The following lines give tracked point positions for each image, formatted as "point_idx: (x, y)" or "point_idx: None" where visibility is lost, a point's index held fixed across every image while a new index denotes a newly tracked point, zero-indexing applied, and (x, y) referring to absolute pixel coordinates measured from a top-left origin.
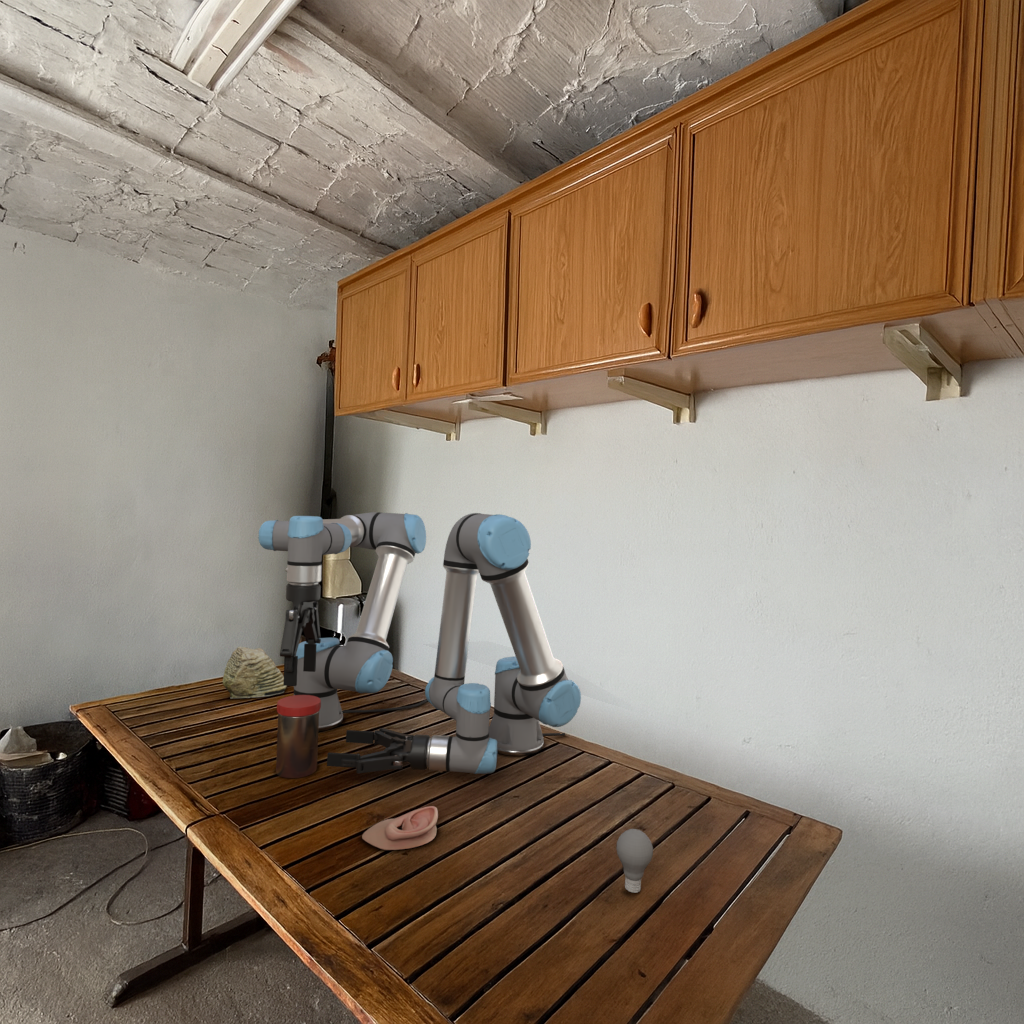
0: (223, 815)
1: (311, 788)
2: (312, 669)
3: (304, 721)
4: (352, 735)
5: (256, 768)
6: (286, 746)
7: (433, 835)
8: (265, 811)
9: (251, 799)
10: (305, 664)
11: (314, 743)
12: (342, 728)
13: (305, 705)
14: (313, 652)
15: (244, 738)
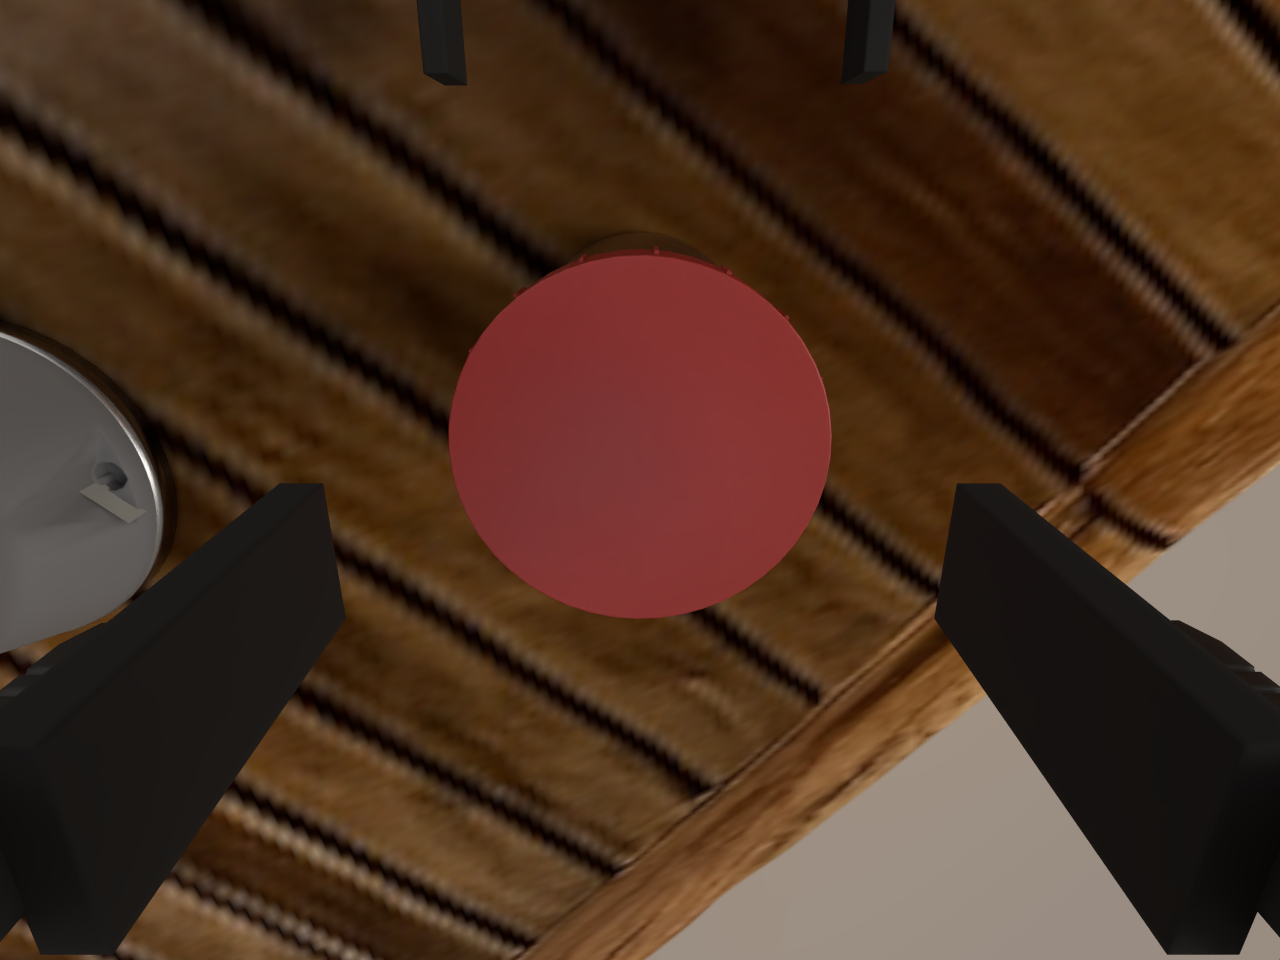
0: (1098, 462)
1: (843, 178)
2: (312, 522)
3: None
4: (449, 22)
5: None
6: None
7: None
8: (1077, 308)
9: (959, 415)
10: (304, 648)
11: (672, 246)
12: (23, 288)
13: (751, 356)
14: (166, 662)
15: (344, 702)
